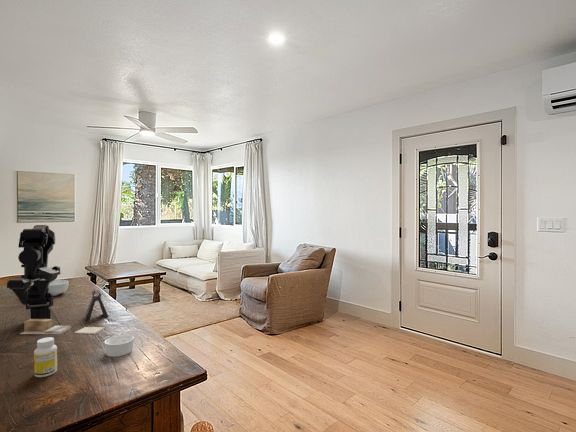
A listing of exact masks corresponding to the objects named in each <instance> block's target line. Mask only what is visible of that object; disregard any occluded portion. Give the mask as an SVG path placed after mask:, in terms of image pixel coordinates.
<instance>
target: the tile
mask: <svg viewBox="0 0 576 432" xmlns="http://www.w3.org/2000/svg"><path fill="white" fill-rule="evenodd" d="M105 328H106V327H101V326H98V327H97V326H85V327H82V328H80V329H78V330H76V331H75V332H74V334H81V335H87V334H88V335H96V334H98V333H100V332H101V331H103V330H105Z"/></svg>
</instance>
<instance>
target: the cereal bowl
mask: <svg viewBox="0 0 576 432" xmlns="http://www.w3.org/2000/svg"><path fill="white" fill-rule="evenodd" d="M69 282H70V281H69V280H67V279H66V280H65V279H55V280H54V281H52V282H51V283H50V284H49V286H48V287H49V290H50V292H51V294H52V295H53V297H57V296H59V295H60V294H61V293H64V292H66V290H68V288H69V284H70V283H69ZM33 284H34V282H32V283H31V286H32V285H33Z"/></svg>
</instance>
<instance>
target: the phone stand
mask: <svg viewBox="0 0 576 432" xmlns="http://www.w3.org/2000/svg"><path fill="white" fill-rule="evenodd" d="M96 292H97V293H96ZM91 294H92V297H91V300H90V302H89V305H88V307H87V310H86V311H85V313H84V321H85V322H86V321H90V320H91V317H92V314H93V310H94V306H95V303H96V302H98V303H99V307H100V310H101V312H102V313H101V314H102V317H103V318H104V319H107V318H109V314H108V312H107V309H106V306H104V305H105V304H104V303H103V301H102V299H101V298H102V297H101V296H102V293H101V291H100V289H97V290H95V289H94V290H93V291H91ZM96 294H98V295H96Z"/></svg>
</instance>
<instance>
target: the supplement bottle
mask: <svg viewBox="0 0 576 432" xmlns="http://www.w3.org/2000/svg"><path fill="white" fill-rule="evenodd" d="M54 343H55V338H54V337H51V336H49V337H43V338H39V339H38V340H37V341H36V348H35V349H34V351H33V361H34V362H33V365H34V367H33V368H34V370H33V372H34V377H36V378H44V377H49V376H52V375H53V374H55V373H56V372H58V346H57V345H56V344H54Z"/></svg>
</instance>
